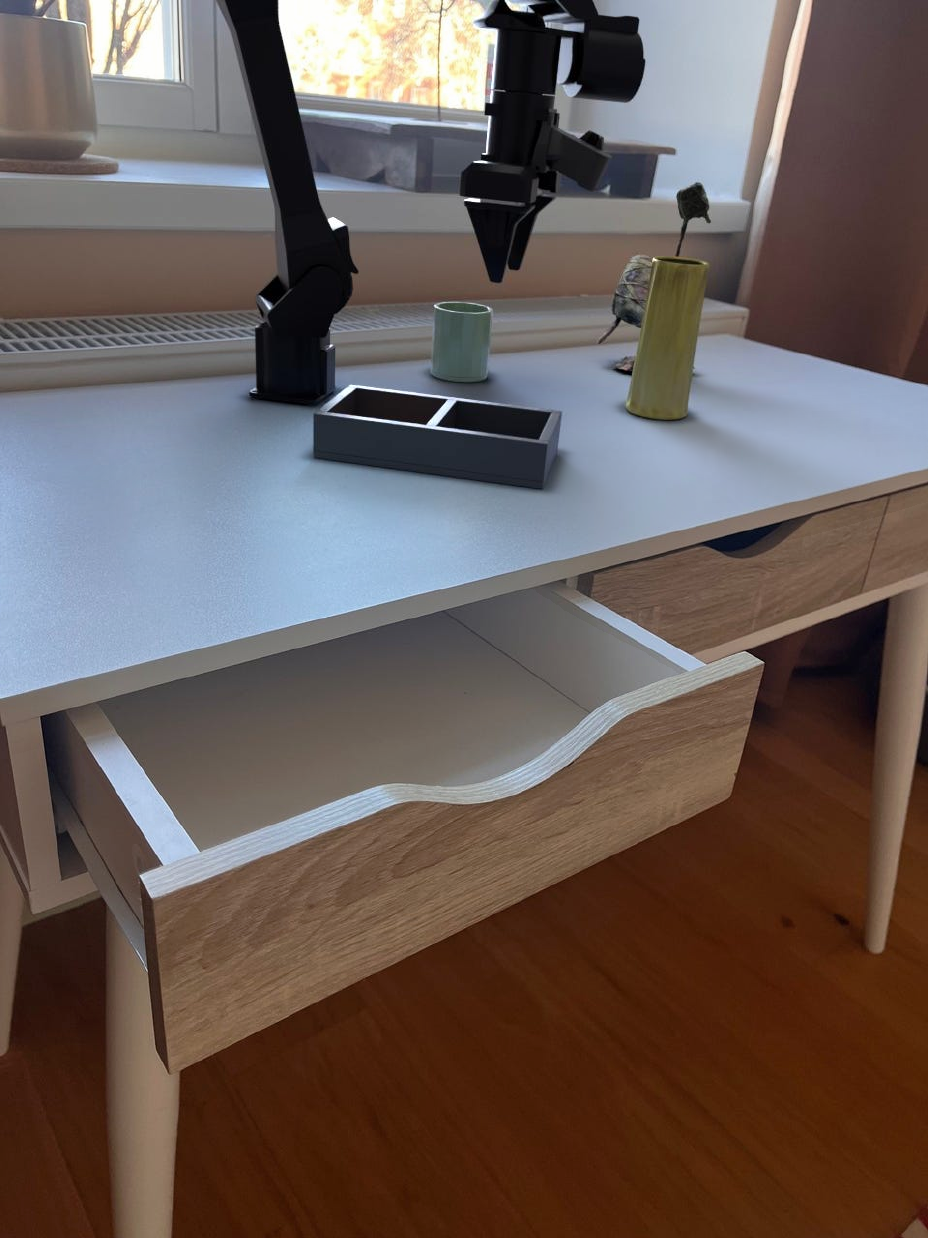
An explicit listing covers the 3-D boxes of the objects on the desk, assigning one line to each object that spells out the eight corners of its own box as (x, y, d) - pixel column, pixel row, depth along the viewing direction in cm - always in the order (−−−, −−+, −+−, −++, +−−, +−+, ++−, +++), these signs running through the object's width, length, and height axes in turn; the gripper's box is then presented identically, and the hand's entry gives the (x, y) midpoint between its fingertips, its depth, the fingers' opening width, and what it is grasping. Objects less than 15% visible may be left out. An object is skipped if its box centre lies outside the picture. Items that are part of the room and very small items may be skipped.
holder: (542, 489, 76) (547, 443, 75) (313, 457, 79) (313, 413, 77) (557, 452, 85) (562, 411, 83) (349, 425, 88) (350, 384, 86)
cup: (425, 377, 104) (428, 308, 101) (437, 365, 109) (441, 299, 106) (481, 384, 103) (486, 315, 100) (491, 371, 108) (497, 305, 105)
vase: (686, 423, 96) (715, 267, 89) (623, 415, 97) (646, 260, 90) (687, 407, 101) (713, 259, 94) (626, 400, 102) (648, 252, 95)
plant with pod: (618, 354, 121) (643, 174, 112) (703, 374, 115) (738, 185, 106) (582, 364, 115) (606, 174, 106) (670, 385, 109) (704, 186, 100)
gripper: (602, 98, 79) (576, 301, 87) (622, 103, 96) (599, 273, 103) (466, 86, 81) (451, 285, 88) (508, 93, 98) (493, 260, 105)
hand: (505, 275), depth 96 cm, fingers open, 9 cm apart
